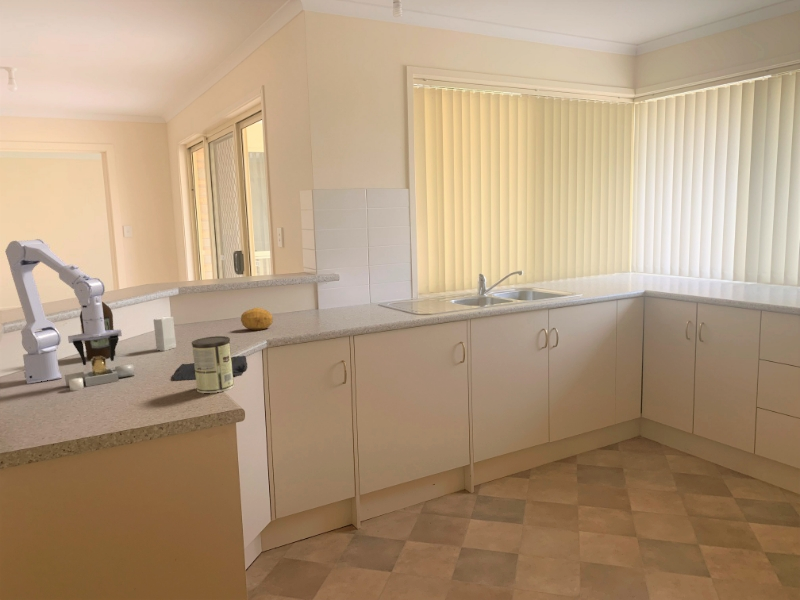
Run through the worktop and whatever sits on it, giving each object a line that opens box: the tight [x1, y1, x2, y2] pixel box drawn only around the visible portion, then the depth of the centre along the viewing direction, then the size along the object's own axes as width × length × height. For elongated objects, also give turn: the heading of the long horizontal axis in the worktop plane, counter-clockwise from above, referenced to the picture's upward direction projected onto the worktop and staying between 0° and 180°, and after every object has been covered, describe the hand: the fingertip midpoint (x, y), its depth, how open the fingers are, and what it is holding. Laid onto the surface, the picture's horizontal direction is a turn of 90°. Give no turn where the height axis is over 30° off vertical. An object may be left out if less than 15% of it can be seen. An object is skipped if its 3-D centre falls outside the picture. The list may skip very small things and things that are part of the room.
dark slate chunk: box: [171, 355, 248, 382], centre depth 190 cm, size 15×22×5 cm
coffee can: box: [191, 335, 235, 394], centre depth 171 cm, size 10×10×14 cm
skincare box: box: [153, 316, 177, 352], centre depth 228 cm, size 6×4×12 cm
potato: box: [240, 307, 274, 331], centre depth 260 cm, size 10×13×9 cm
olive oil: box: [79, 301, 116, 360], centre depth 219 cm, size 11×11×25 cm
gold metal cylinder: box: [90, 356, 108, 376], centre depth 187 cm, size 4×4×8 cm
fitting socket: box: [64, 363, 135, 388], centre depth 187 cm, size 19×9×4 cm, turn 122°
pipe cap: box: [68, 378, 84, 392], centre depth 179 cm, size 4×4×3 cm
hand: (98, 362), depth 186 cm, fingers open, 7 cm apart
